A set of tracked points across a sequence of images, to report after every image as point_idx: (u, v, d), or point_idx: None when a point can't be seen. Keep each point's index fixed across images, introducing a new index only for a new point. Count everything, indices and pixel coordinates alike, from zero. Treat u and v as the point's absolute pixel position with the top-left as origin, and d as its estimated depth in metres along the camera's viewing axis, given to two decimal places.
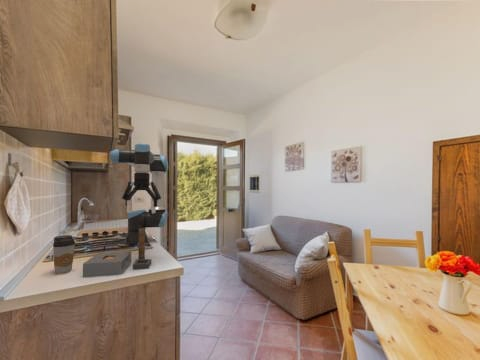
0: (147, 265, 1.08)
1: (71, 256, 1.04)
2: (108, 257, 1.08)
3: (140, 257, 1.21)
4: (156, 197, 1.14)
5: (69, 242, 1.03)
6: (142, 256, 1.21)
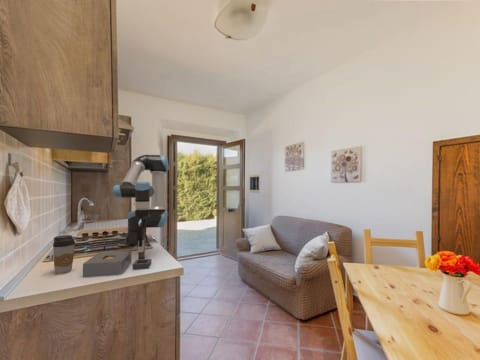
0: (147, 265, 1.08)
1: (71, 256, 1.04)
2: (108, 257, 1.08)
3: (140, 257, 1.21)
4: None
5: (69, 242, 1.03)
6: (142, 256, 1.21)
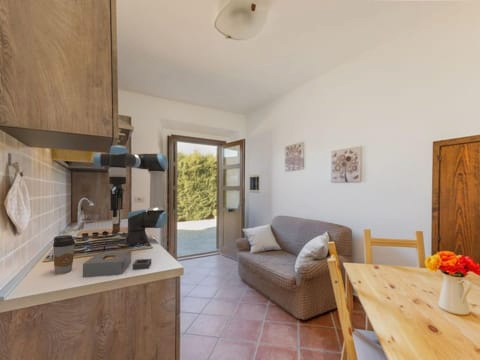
0: (147, 265, 1.08)
1: (71, 256, 1.04)
2: (108, 257, 1.08)
3: (114, 229, 1.09)
4: (111, 206, 1.06)
5: (69, 242, 1.03)
6: (117, 228, 1.09)
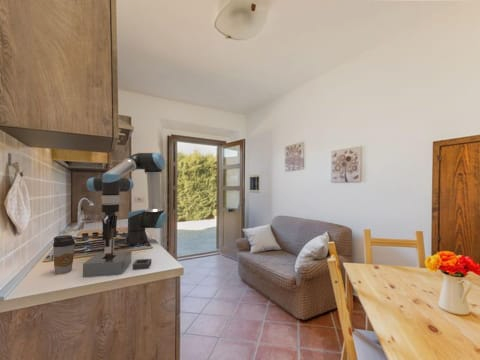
0: (147, 265, 1.08)
1: (71, 256, 1.04)
2: None
3: None
4: None
5: (69, 242, 1.03)
6: None
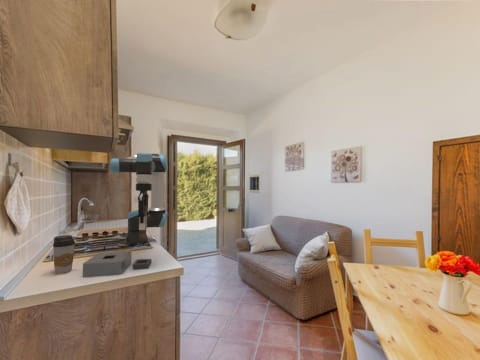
0: (147, 265, 1.08)
1: (71, 256, 1.04)
2: None
3: (141, 237, 1.10)
4: None
5: (69, 242, 1.03)
6: (143, 236, 1.11)
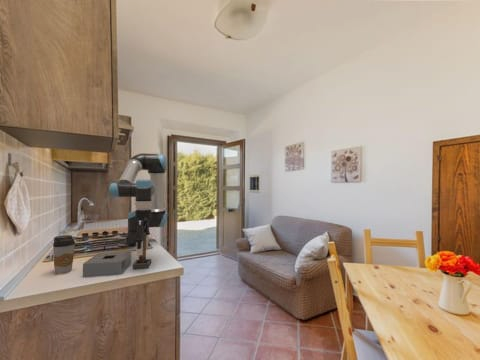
0: (147, 265, 1.08)
1: (71, 256, 1.04)
2: None
3: None
4: None
5: (69, 242, 1.03)
6: None
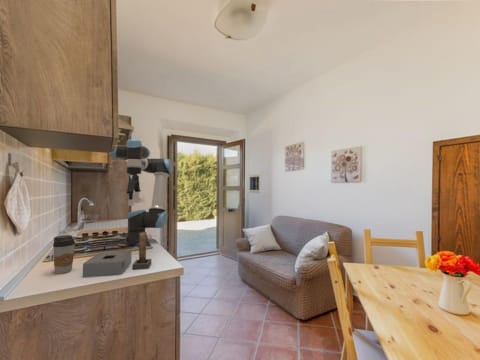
0: (147, 265, 1.08)
1: (71, 256, 1.04)
2: None
3: None
4: None
5: (69, 242, 1.03)
6: None
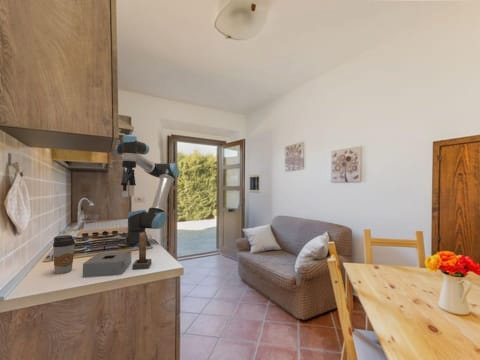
0: (147, 265, 1.08)
1: (71, 256, 1.04)
2: None
3: None
4: (122, 182, 1.23)
5: (69, 242, 1.03)
6: None
